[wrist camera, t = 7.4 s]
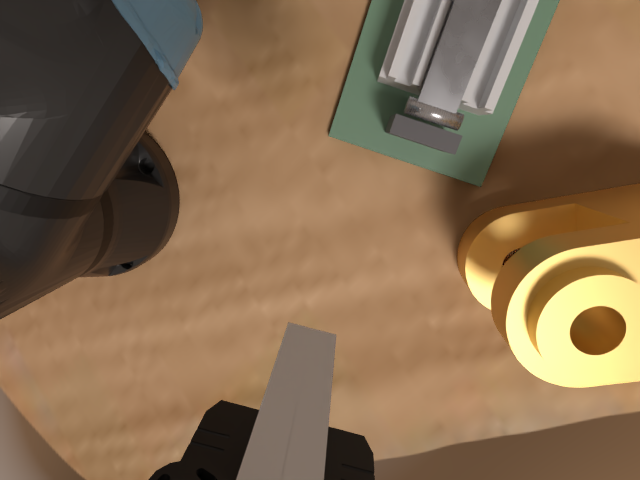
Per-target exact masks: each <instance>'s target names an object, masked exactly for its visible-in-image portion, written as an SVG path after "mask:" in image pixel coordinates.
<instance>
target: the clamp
mask: <svg viewBox="0 0 640 480" xmlns="http://www.w3.org/2000/svg"><path fill="white" fill-rule="evenodd" d="M520 248H521V249H520ZM516 249H520V250H518V251H517V252H516V253H515V254H513V255H512V256H511V257H510V258H509V259H508V261H507V262H506V263H505V264H504V265H503V261H504V259H505V257H506V256H507V255H508V254H509V253H510V252H512V251H513V250H516ZM457 262H458V268H459V271H460V274H461V276H462V278H463V280H464V281H465V283H466V284H467V286H468V287H469V289H470V290H471V292H472V293H473V294H474V296H475V297H476V298H477V299H478V301H479V302H481V303H482V304H483V305H484V306H486V307H487V308H489V309H490V310H491V312H492V317H493V320H494V323H495V325H496V327H497V329H498V331H499V333H500V334H501V335H502V337H503V338H504V340H505V341H506V343H507V344H508V346H509V347H510V349H511V350H512V352H513V353H514V354H515V356H516V357H517V359H518V360H519V361H520V363H521V364H522V365H523V366H524V367H525V368H526V369H527V370H529V371H530V372H531V373H532V374H534V375H535V376H537V377H539V378H541V379H543V380H545V381H547V382H550V383H553V384H556V385H560V386H566V387H592V386H600V385H609V384H618V383H627V382H635V381H640V183H639V184H633V185H627V186H621V187H615V188H609V189H603V190H597V191H591V192H585V193H579V194H573V195H568V196H562V197H556V198H550V199H544V200H538V201H532V202H526V203H520V204H514V205H508V206H503V207H498V208H495V209H492V210H490V211H488V212H486V213H484V214H482V215H481V216H479V217H478V218H477V219H475V220H474V221H473V222H472V223H471V224H470V225H469V227H468V228H467V229H466V231H465V232H464V234H463V236H462V238H461V240H460V243H459V247H458V252H457ZM502 265H503V267H502Z"/></svg>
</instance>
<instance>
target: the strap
mask: <svg viewBox="0 0 640 480" xmlns="http://www.w3.org/2000/svg"><path fill="white" fill-rule="evenodd" d="M501 1H502V0H454V2H453V4H452V7H451V10H450V12H449V15H448V18H447V20H446V23H445V26H444V29H443V31H442V34H441V37H440V39H439V42H438V45H437V47H436V50H435V53H434V55H433V58H432V61H431V64H430V66H429V69H428V72H427V74H426V77H425V80H424V82H423V85H422V88H421V91H420V93H419V96H418V99H417V98H414V97H411V96H410V97H409V99H408V101H407V104H406V106H405V109H404V113H405V114H408V115H411V116H414V117H417V118H420V119H423V120H426V121H429V122H432V123H435V124H438V125H441V126H444V127H447V128H450V129H453V130H456V131H458V130H459V128H460V127H461V124H462V122H463V119H464V114H462V113H459V112H457V110H458V108H459V105H460V103H461V100H462V98H463V95H464V93H465V90H466V88H467V85H468V83H469V80H470V78H471V75H472V73H473V70H474V68H475V65H476V63H477V61H478V58H479V56H480V53H481V51H482V48H483V46H484V43H485V41H486V38H487V36H488V33H489V31H490V28H491V26H492V23H493V21H494V18H495V16H496V13H497V11H498V9H499V6H500V4H501Z"/></svg>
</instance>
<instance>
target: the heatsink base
mask: <svg viewBox="0 0 640 480" xmlns="http://www.w3.org/2000/svg"><path fill="white" fill-rule="evenodd" d="M559 1H560V0H502V1H501V4H500V6H499V9H498V11H497V13H496V16H495V18H494V21H493V23H492V26H491V28H490V31H489V33H488V36H487V38H486V41H485V43H484V46H483V48H482V51H481V53H480V56H479V58H478V61H477V63H476V65H475V68H474V70H473V73H472V75H471V78H470V80H469V83H468V85H467V88H466V90H465V93H464V95H463V98H462V100H461V103H460V105H459V108H458V110H457V112H459V113H462V114H464V119H463V122H462V124H461V127H460V128H459V130H458V131H456V130H453V129H450V128H447V127H444V126H441V125H438V124H435V123H432V122H429V121H426V120H423V119H420V118H417V117H414V116H411V115H408V114H405V113H404V109H405V106H406V104H407V101H408V99H409V97H410V96H411V97H414V98H417V99H418V96H419V93H420V91H421V88H422V85H423V82H424V80H425V77H426V74H427V72H428V69H429V66H430V64H431V61H432V58H433V55H434V53H435V50H436V47H437V45H438V42H439V39H440V37H441V34H442V31H443V29H444V26H445V23H446V20H447V18H448V15H449V12H450V10H451V7H452V4H453V2H454V0H372V1H371V4H370V7H369V11H368V14H367V17H366V20H365V23H364V26H363V29H362V33H361V36H360V39H359V42H358V45H357V48H356V51H355V55H354V58H353V61H352V64H351V67H350V70H349V73H348V76H347V80H346V83H345V86H344V89H343V92H342V95H341V98H340V102H339V105H338V108H337V111H336V114H335V117H334V120H333V124H332V127H331V130H330V133H329V136H330V137H333V138H336V139H339V140H342V141H345V142H348V143H351V144H354V145H357V146H360V147H363V148H366V149H369V150H372V151H375V152H378V153H381V154H384V155H387V156H390V157H393V158H396V159H399V160H402V161H405V162H408V163H411V164H414V165H417V166H420V167H423V168H426V169H429V170H432V171H434V172H437V173H440V174H443V175H446V176H449V177H452V178H455V179H458V180H461V181H464V182H467V183H470V184H473V185H476V186H479V187H481V186H482V183H483V181H484V179H485V176H486V174H487V171H488V169H489V167H490V164H491V162H492V160H493V157H494V155H495V152H496V150H497V148H498V145H499V143H500V141H501V138H502V136H503V134H504V131H505V129H506V126H507V124H508V122H509V119H510V117H511V115H512V112H513V110H514V107H515V105H516V103H517V100H518V98H519V96H520V93H521V91H522V88H523V86H524V84H525V81H526V79H527V77H528V74H529V72H530V69H531V67H532V65H533V62H534V60H535V58H536V55H537V53H538V50H539V48H540V46H541V43H542V41H543V39H544V36H545V34H546V31H547V29H548V27H549V24H550V22H551V20H552V17H553V15H554V13H555V10H556V8H557V5H558V3H559Z"/></svg>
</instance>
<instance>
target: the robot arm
mask: <svg viewBox="0 0 640 480" xmlns="http://www.w3.org/2000/svg"><path fill="white" fill-rule="evenodd" d="M202 30H203V19H202V14H201V10H200V8H199V5H198V3H197V1H196V0H0V319H2V318H4V317H6V316H7V315H9V314H11V313H13V312H15V311H17V310H18V309H20V308H22V307H24V306H26V305H28V304H30V303H31V302H33V301H35V300H37V299H39V298H41V297H42V296H44V295H46V294H48V293H50V292H52V291H54V290H55V289H57V288H59V287H61V286H63V285H65V284H67V283H68V282H70V281H72V280H74V279H76V278H78V277H100V276H113V275H118V274H122V273H125V272H128V271H131V270H133V269H135V268H137V267H139V266H140V265H142V264H144V263H145V262H147V261H148V260H150V259H151V258H153V257H154V256H155V255H157V254H158V253H159V252H160V251H161V250H162V249H163V248H164V246H165V245H166V244H167V242H168V241H169V239H170V237H171V236H172V233H173V231H174V229H175V226H176V223H177V219H178V213H179V191H178V185H177V181H176V178H175V175H174V172H173V169H172V167H171V165H170V163H169V161H168V159H167V157H166V156H165V154H164V153H163V151H162V150H161V149H160V147H159V146H158V145H157V144H156V143H155V141H154V140H153V139H152V138H151V137H149V136H148V135H147V134H146V133H145V130H146V129H147V127H148V125H149V124H150V122H151V121H152V119H153V118H154V116H155V115H156V113H157V111H158V110H159V108H160V107H161V105H162V104H163V102H164V101H165V99H166V97H167V96H168V94H169V93H170V91H171V90H172V89H173V90H175V89H176V88H177V86H178V84H179V81H178V77H179V75H180V74H181V72H182V70H183V68H184V66H185V65H186V63H187V61H188V59H189V58H190V56H191V54H192V52H193V51H194V49H195V47H196V45H197V44H198V42H199V40H200V38H201V35H202ZM335 344H336V335H335V334H332V333H328V332H324V331H320V330H316V329H312V328H308V327H305V326H301V325H297V324H293V323H289V322H288V325H287V328H286V331H285V334H284V337H283V340H282V343H281V346H280V349H279V352H278V355H277V358H276V361H275V364H274V367H273V370H272V373H271V376H270V379H269V382H268V385H267V388H266V391H265V394H264V397H263V400H262V403H261V406H260V409H259V410H257V409H253V408H249V407H246V406H242V405H238V404H234V403H230V402H227V401H223V400H221V401H220V402H218V403H217V404H215V405H214V406H213V407H211V408H210V409H209V410H207V411H206V413H205V414H204V416H203V418H202V420H201V422H200V424H199V426H198V429H197V430H196V432H195V434H194V436H193V438H192V440H191V442H190V444H189V445H188V447H187V449H186V451H185V453H184V455H183V457H182V459H181V461H179V462H173V463H170V464H168V465H166V466H164V467H162V468H160V469H159V470H157V471H156V472H155V473H154V474H153V475H152V476H151V477H150V479H149V480H375V478H374V477H375V476H374V459H373V452H372V450H371V449H370V447H369V445H368V443H367V441H366V439H365V437H364V436H362V435H358V434H354V433H351V432H347V431H343V430H339V429H335V428H332V427H328V425H329V413H330V402H331V390H332V378H333V367H334V355H335Z"/></svg>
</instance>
